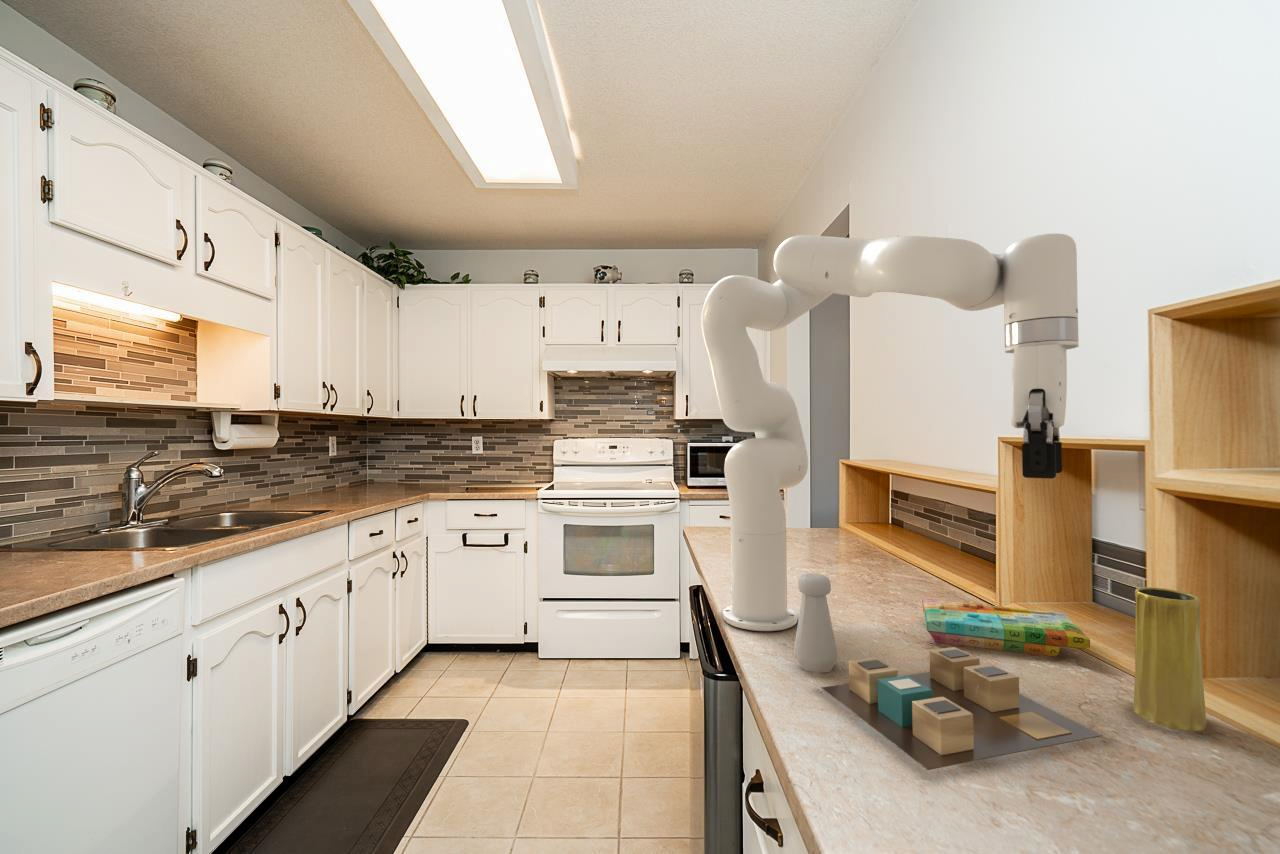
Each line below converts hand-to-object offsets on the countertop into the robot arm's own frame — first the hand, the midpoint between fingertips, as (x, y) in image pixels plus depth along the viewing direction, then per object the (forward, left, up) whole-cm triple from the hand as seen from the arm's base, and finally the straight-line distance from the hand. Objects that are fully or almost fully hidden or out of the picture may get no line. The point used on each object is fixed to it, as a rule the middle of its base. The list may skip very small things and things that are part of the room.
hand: (1043, 475), depth 70 cm
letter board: (+1, -16, -27) cm, 31 cm away
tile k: (+6, -22, -26) cm, 35 cm away
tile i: (-5, -10, -26) cm, 28 cm away
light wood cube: (-5, -22, -26) cm, 34 cm away
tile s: (+1, -22, -26) cm, 34 cm away
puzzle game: (-15, +8, -27) cm, 32 cm away
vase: (+9, +6, -27) cm, 29 cm away
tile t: (+1, -10, -26) cm, 28 cm away
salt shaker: (-14, -24, -27) cm, 39 cm away
